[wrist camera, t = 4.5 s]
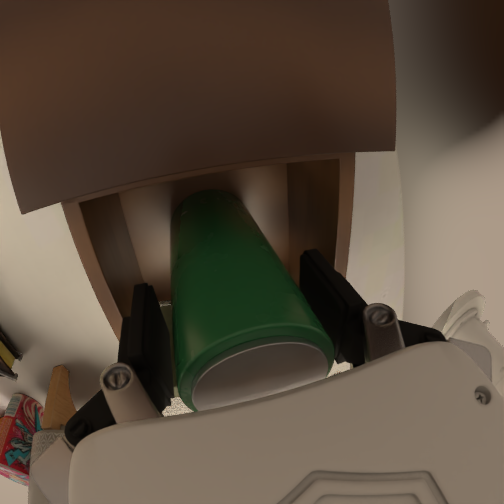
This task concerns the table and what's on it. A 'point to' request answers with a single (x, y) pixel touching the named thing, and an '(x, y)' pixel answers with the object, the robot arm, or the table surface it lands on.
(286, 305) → the green can
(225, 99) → the cabinet
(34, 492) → the planter
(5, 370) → the book
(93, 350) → the table surface
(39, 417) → the cup
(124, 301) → the drawer
